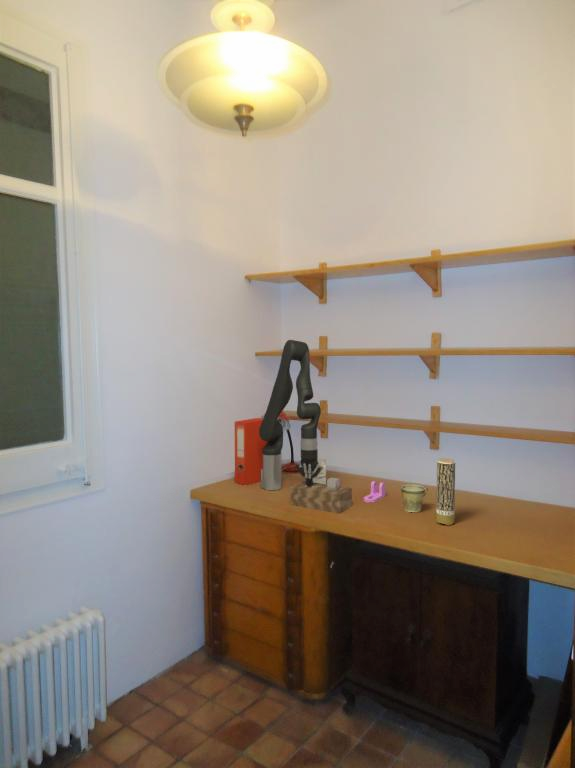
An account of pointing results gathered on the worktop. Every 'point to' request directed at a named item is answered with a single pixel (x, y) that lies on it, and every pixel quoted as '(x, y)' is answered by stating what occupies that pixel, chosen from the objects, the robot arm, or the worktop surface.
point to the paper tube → (445, 491)
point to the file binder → (248, 451)
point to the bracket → (375, 492)
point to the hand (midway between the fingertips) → (309, 486)
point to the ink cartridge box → (321, 472)
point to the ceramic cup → (413, 497)
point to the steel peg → (333, 484)
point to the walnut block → (321, 497)
